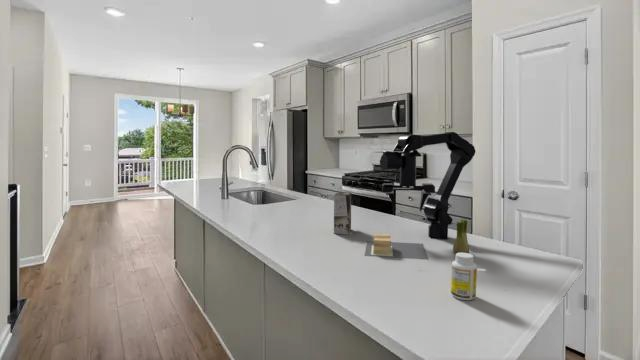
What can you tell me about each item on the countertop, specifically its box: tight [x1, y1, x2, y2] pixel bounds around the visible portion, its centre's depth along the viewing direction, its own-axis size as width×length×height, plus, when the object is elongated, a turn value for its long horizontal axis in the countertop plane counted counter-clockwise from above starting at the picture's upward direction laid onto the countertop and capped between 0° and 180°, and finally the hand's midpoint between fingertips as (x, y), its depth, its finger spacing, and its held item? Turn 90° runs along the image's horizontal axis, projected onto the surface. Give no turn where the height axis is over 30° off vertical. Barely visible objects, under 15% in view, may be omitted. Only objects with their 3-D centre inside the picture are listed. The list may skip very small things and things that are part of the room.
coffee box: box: [333, 191, 352, 235], centre depth 147 cm, size 9×6×16 cm
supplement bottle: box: [450, 252, 478, 301], centre depth 84 cm, size 6×6×10 cm
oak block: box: [373, 233, 392, 255], centre depth 119 cm, size 9×6×4 cm, turn 170°
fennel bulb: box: [452, 219, 470, 256], centre depth 115 cm, size 6×5×12 cm
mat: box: [363, 240, 429, 260], centre depth 121 cm, size 20×18×1 cm
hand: (407, 210), depth 131 cm, fingers open, 9 cm apart
